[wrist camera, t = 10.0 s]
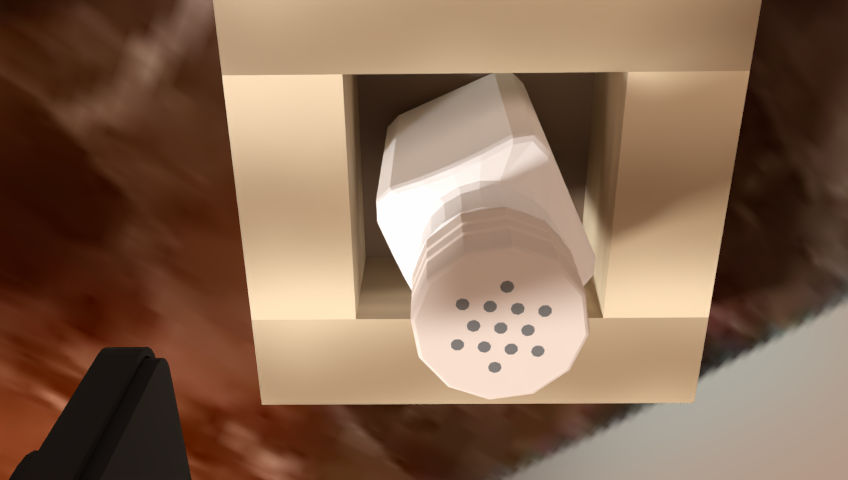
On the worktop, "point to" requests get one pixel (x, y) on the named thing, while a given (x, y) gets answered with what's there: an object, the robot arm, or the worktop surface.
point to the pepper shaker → (485, 240)
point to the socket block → (569, 142)
